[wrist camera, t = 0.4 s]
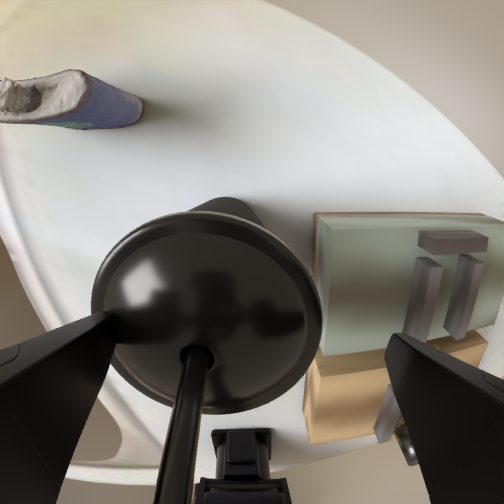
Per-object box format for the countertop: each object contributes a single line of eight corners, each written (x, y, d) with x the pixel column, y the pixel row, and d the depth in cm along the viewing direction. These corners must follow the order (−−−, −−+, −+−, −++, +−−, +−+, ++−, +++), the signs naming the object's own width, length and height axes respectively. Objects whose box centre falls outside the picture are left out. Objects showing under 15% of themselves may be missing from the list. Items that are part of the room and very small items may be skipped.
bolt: (405, 424, 23) (425, 463, 18) (384, 429, 23) (402, 471, 18) (435, 344, 20) (470, 384, 15) (412, 349, 20) (444, 393, 15)
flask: (147, 95, 19) (73, 57, 9) (139, 134, 20) (58, 124, 10) (49, 94, 18) (-43, 79, 8) (43, 128, 19) (-52, 130, 9)
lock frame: (439, 382, 28) (466, 420, 22) (302, 408, 28) (313, 461, 22) (481, 213, 22) (532, 233, 16) (313, 212, 22) (343, 238, 15)
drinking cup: (272, 171, 21) (490, 320, 2) (281, 272, 23) (360, 552, 4) (165, 184, 21) (-96, 338, 2) (182, 282, 23) (88, 545, 4)
